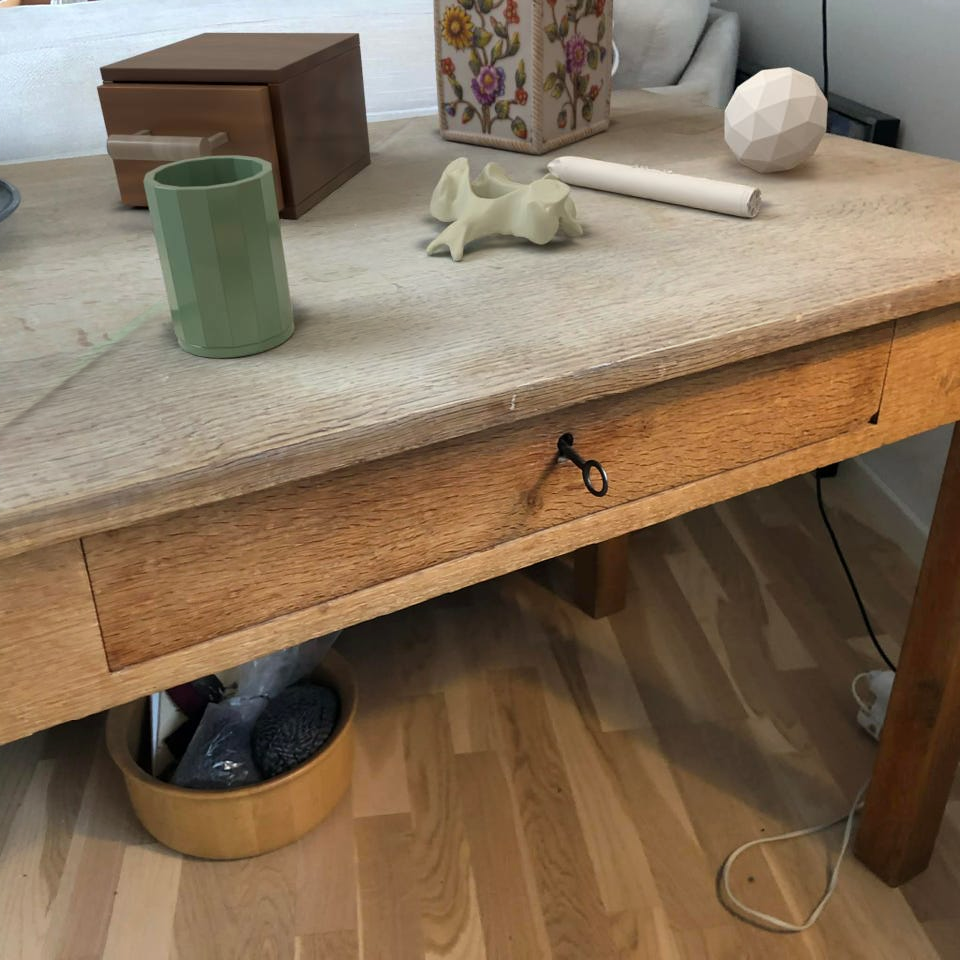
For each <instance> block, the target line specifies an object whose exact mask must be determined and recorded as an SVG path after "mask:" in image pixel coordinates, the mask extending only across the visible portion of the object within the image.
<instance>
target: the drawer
mask: <svg viewBox="0 0 960 960" xmlns="http://www.w3.org/2000/svg"><path fill="white" fill-rule="evenodd" d="M268 84H269V83H220V82H159V81H132V82H130V83H128V84H115V83H105V84H103V83H102V84H100V85H97V86H96V91H97V95H98V99H99V104H100V108H101V113H102V114H101V115H102V118H103V122H104V126H105V132H106V136H107V139H106V142H105V143H106V144H105V145H106V146H105V147H106V151H107V154H108V156H109V157H110V158H111V159H112V163H113V166H114V172H115V176H116V181H117V185H118V190H119V194H120V199H121V204H122V205H123V206H133V207H134V206H135V207H149V206H148V201H147V196H146V191H145V186H144V182H143V181H144V178H145V175H146V173H148V172H150V171H152V170H154V169H156V168H157V167H159V166H162V165H165V164H169V163H173V162H177V161H181V160H185V159H192V158H200V157H207V156H230V155H239V156H248V157H257V158H260V159H263V160H265V161H268V162H270V163H271V164H272V169H273V176H274V183H275V191H276V198H277V205H278V212H281V211H282V209H283V208H284V201H283V191H282V184H281V176H280V169H279V162H278V154H277V147H276V140H275V132H274V125H273V118H272V110H271V103H270V96H269V88H268Z"/></svg>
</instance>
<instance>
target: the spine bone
mask: <svg viewBox="0 0 960 960" xmlns="http://www.w3.org/2000/svg"><path fill="white" fill-rule="evenodd" d="M571 191H572V190H571V186H569V184H568V183H565V182H563V181H560V180H559V179H558V178H557V177H556V176H555V175H552V174H551V172H547V173H546V174H545V175H543V176H542V177H541V178H538V179H536V180H533V181H532V182H531V183H529V184H525V183H520V182H515V181H512V180H511V179H510V178H509V177H508V174H507V172H506V170H505V169H504V167H503V165H501V164H500V163H499V162H496V161H494V162H493V161H489V162H488V163H487V164H486V165H485V166H484V169H483V170H482V171H481V172H480V174H479V175H478V176H477V177H476V179H475V180H474V181H472V180H471V165H470V160H469V158H468V157H465V156H464V157H462V156H460V157H459V158H456V159H453V161H451V162H450V163H449V164H448V165H447V166H446V167H445V169H444V171H443V172H442V174H441V177H440V179H439V181H438V183H437V185H436V186H435V188H434V190H433V192H432V197H431V201H430V203H429V213H430V215H431V216H432V217H433V218H436V219H437V220H439V221H440V222H445V223H447V222H448V223H450V222H451V224H449V225H447V227H446V228H445V229H444V230H443V231H442V232H441V233H440V234H439V235H438V236H436V238H434V239H433V240H431V242H430V243H429V244H428V245H427V247H426V253H427V255H429V256H431V255H433V254H434V253H435V252H437V251H438V250H439V249H440V248H442V247H443V246H445V245H447V246H448V247H449V251H450V255H451V258H452V260H453V261H456V262H459V261H460V260H462V258H463V255H464V247H465V246H466V245H467V244H468V243H470V242H472V241H474V240H476V239H478V238H480V237H483V236H487V235H490V234H495V233H498V234H501V235H503V236H508V235H512V236H514V237H515V238H524V239H527V240H529V241H530V242H532V243H534V244H537V245H545V244H547V243H550V241H551V240H552V239H553V238H554V236H555V235H556V233H557V232H558V231H559V229H560V228H559V227H561V229H562V231H563V232H564V234H565V235H567V236H568V237H569V238H577V237H580V236H582V235H584V230H583V228H582V226H581V225H580V223H579V222H578V221H577V220H576V218H577V213H578V212H577V208H576V205H575V202H574V200H573V198H572V197H571V196H570V194H571Z"/></svg>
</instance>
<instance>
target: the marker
mask: <svg viewBox="0 0 960 960" xmlns="http://www.w3.org/2000/svg"><path fill="white" fill-rule="evenodd" d="M546 167H547V169H548V172H549V173H551V174H552V175H555V176H556V177H557V178H558V181H561V182H563V183H565V184H567V185H573V186H578V187H584V188H589V189H595V190H599V191H605V192H609V193H616V194H621V195H626V196H632V197H637V198H642V199H646V200H652V201H658V202H663V203H668V204H673V205H678V206H684V207H689V208H693V209H694V208H695V209H698V210H699V209H701V210H704V211H705V210H706V211H711V212H716V213H721V214H727V215H732V216H737V217H742V218H754V217H755V216H756V215H757V214H758V213H759V210H760V207H761V205H762V198H763V197H762V196H761V195H762V191H761V189H760V188H758V187H754V186H751V185H745V184H739V183H735V182H734V183H733V182H727V181H720V180H715V179H710V178H705V177H698V176H692V175H685V174H681V173H674V171H673V170H669V169H668V170H666V168H664V169H663V170H660V169H659V170H658V169H654V168H649V167H648V165H645V166H644V165H640V166H639V164H638V163H637V164H636V163H635V164H634V165H627V164H623V163H616V162H609V161H604V160H598V159H593V158H586V157H580V156H573V155H566V156H565V155H564V156H560V157H557V158H554V159H553V160H550V162H549V163H547V165H546Z"/></svg>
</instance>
